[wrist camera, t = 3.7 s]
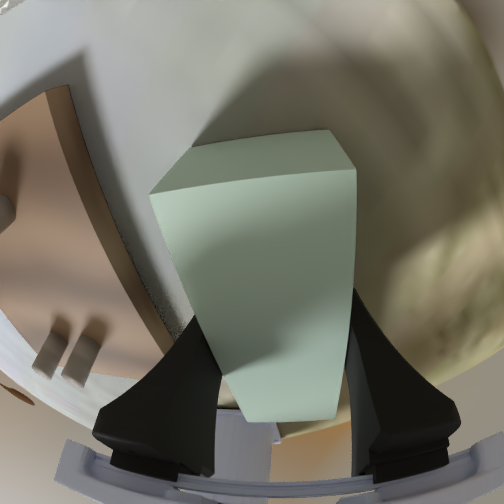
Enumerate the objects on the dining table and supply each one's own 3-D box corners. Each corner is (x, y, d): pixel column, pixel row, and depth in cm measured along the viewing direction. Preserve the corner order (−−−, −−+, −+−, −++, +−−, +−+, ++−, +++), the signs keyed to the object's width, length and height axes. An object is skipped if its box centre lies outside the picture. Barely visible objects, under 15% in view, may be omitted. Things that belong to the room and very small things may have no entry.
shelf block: (330, 362, 17) (334, 418, 14) (252, 366, 18) (247, 422, 15) (329, 129, 9) (355, 169, 6) (189, 147, 10) (148, 194, 7)
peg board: (188, 365, 19) (174, 423, 15) (52, 350, 21) (33, 389, 18) (67, 84, 9) (-15, 113, 5) (-54, 172, 11) (-96, 206, 7)
